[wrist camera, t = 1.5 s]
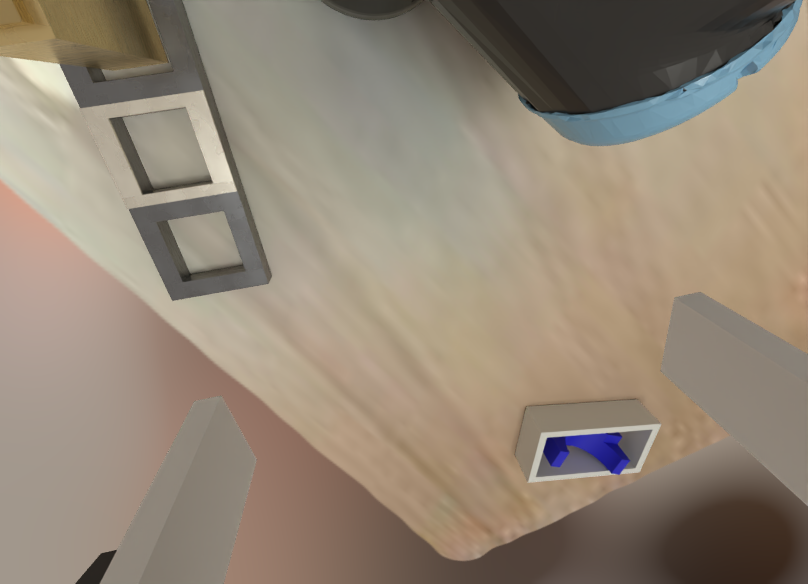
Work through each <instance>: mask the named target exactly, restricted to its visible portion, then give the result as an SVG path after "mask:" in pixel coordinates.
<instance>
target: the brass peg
mask: <svg viewBox="0 0 808 584" xmlns="http://www.w3.org/2000/svg"><path fill="white" fill-rule="evenodd" d="M0 56H4V57H12V58H20V59H27V60H35V61H43V62H51V63H58V64H66V65H74V66H81V67H89V68H97V69H104V70H112V71H114V70H121V69H128V68H135V67H142V66H149V65H156V64H163V63H168V60H167V57H166V54H165V51H164V49H163V46H162V43H161V40H160V38H159V35H158V32H157V29H156V27H155V24H154V21H153V18H152V16H151V13H150V10H149V7H148V4H147V2H146V0H0Z"/></svg>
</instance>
